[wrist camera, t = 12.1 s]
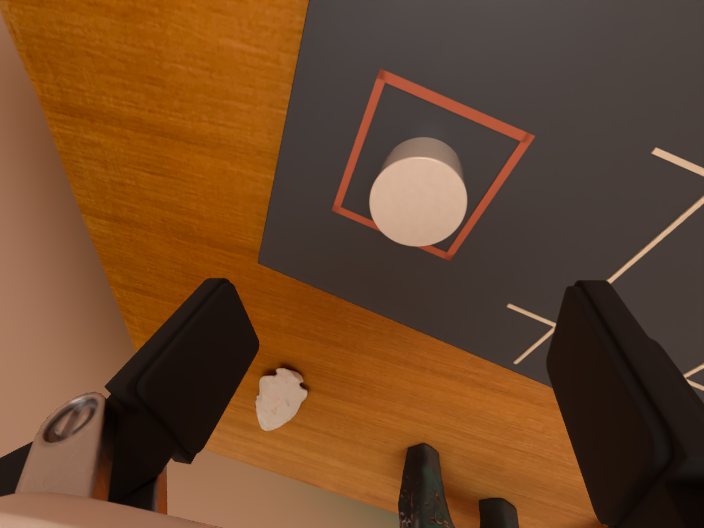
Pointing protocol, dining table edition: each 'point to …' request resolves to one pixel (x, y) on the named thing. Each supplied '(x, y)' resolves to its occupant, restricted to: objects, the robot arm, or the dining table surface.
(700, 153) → the board
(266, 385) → the stone tool
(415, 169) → the white cylinder
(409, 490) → the ceramic cat
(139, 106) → the dining table surface
